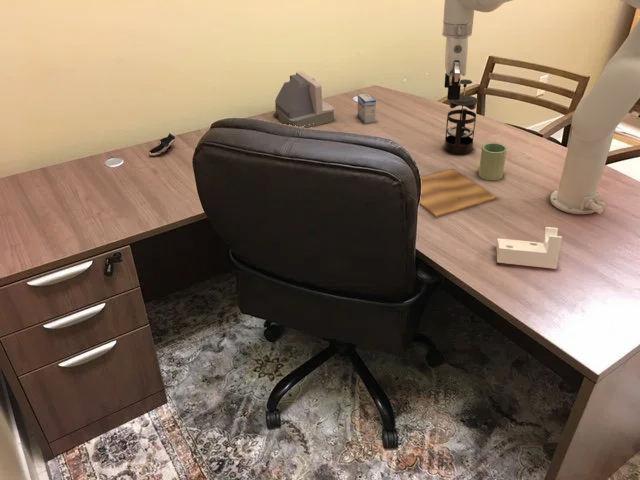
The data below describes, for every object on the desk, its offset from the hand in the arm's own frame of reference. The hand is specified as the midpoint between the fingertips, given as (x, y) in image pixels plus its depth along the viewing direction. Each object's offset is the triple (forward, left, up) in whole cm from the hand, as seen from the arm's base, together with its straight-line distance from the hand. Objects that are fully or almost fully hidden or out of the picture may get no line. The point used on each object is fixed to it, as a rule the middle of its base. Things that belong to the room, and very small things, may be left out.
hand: (451, 93), depth 148 cm
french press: (+14, -15, -26) cm, 33 cm away
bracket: (-43, +8, -26) cm, 51 cm away
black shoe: (+63, +73, -26) cm, 100 cm away
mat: (-8, +6, -26) cm, 28 cm away
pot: (-6, -12, -26) cm, 29 cm away
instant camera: (+66, +19, -26) cm, 73 cm away
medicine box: (+52, -1, -26) cm, 58 cm away
